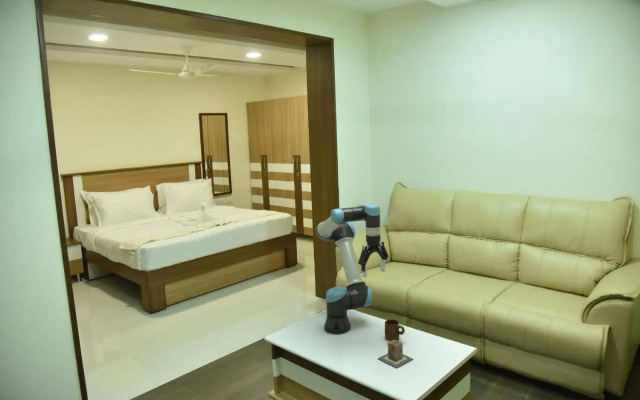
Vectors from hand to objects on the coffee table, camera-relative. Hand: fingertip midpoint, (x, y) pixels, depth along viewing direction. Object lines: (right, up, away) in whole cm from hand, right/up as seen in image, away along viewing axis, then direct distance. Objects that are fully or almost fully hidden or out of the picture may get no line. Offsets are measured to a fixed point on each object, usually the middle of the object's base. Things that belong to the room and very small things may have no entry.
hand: (373, 274), depth 231 cm
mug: (+12, -36, +5) cm, 38 cm away
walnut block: (+8, -38, -16) cm, 42 cm away
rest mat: (+8, -39, -16) cm, 43 cm away
